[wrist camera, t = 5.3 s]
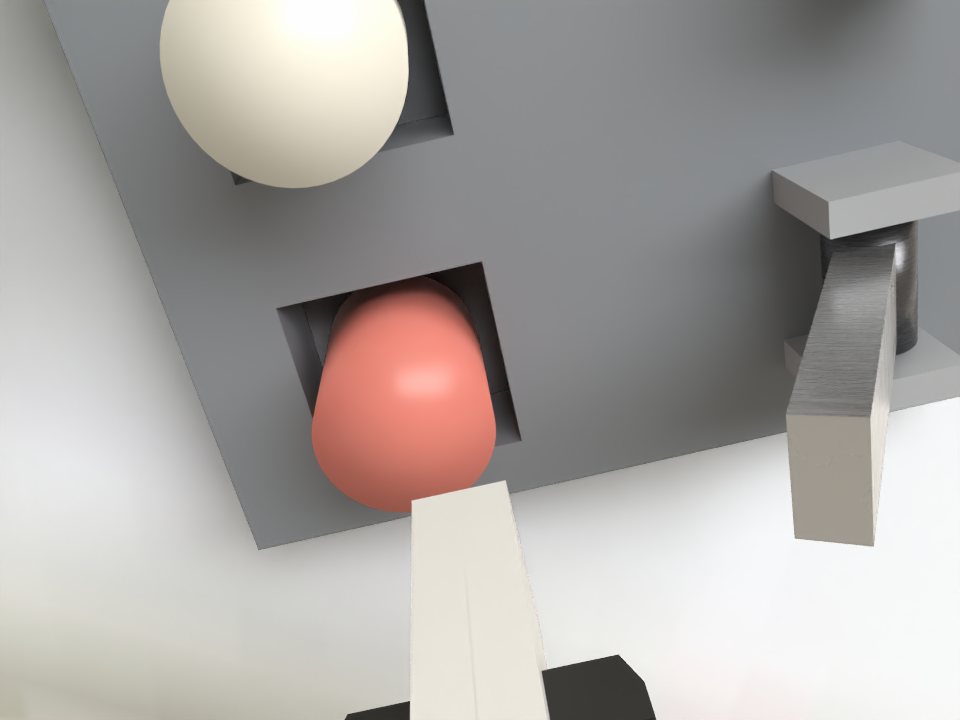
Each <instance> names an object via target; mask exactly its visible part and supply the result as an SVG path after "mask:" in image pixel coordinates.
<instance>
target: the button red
mask: <svg viewBox="0 0 960 720" xmlns="http://www.w3.org/2000/svg"><path fill="white" fill-rule="evenodd" d="M495 439H496V423H495V417H494V412H493V407H492V401H491V396H490V391H489V386H488V381H487V376H486V371H485V366H484V361H483V356H482V351H481V346H480V341H479V336H478V331H477V327H476V324H475V320H474V318H473V316H472V314H471V312H470V310H469V308H468V307H467V305H466V304H465V303H464V301H463V300H462V299H461V298H460V297H459V296H458V295H457V294H456V293H455V292H454V291H452V290H451V289H450V288H448V287H447V286H445V285H444V284H442V283H440V282H438V281H436V280H433V279H430V278H427V277H424V276H416V277H411V278H407V279H403V280H398V281H394V282H389V283H385V284H381V285H376V286H372V287H368V288H363V289H359V290H355V291H354V292H353V293H352V294H351V295H350V296H349V297H348V298H347V299H346V300H345V301H344V302H343V304H342V305H341V306H340V308H339V310H338V311H337V313H336V315H335V317H334V320H333V323H332V326H331V331H330V336H329V341H328V346H327V351H326V356H325V361H324V366H323V371H322V376H321V381H320V386H319V391H318V396H317V401H316V406H315V411H314V416H313V421H312V444H313V449H314V452H315V456H316V458H317V461H318V463H319V465H320V467H321V469H322V470H323V472H324V474H325V475H326V476H327V478H328V479H329V480H330V481H331V482H332V484H334V485H335V486H336V487H337V488H338V489H339V490H340V491H341V492H343V493H344V494H345V495H347V496H348V497H350V498H351V499H353V500H355V501H357V502H359V503H361V504H363V505H366V506H368V507H371V508H375V509H378V510H383V511H389V512H412V501H413V500H417V499H422V498H426V497H431V496H436V495H440V494H445V493H449V492H454V491H459V490H463V489H468V488H470V487H471V486H472V485H473V484H474V483H475V482H476V481H477V480H478V478H479V477H480V476H481V475H482V473H483V472H484V470H485V468H486V467H487V465H488V463H489V461H490V458H491V456H492V453H493V449H494V446H495Z"/></svg>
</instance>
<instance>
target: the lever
mask: <svg viewBox="0 0 960 720" xmlns="http://www.w3.org/2000/svg"><path fill="white" fill-rule="evenodd" d="M820 252H821V273H822V292H821V295H820V299H819V302H818V305H817V309H816V312H815V316H814V319H813V323H812V326H811V330H810V333H809V336H808V340H807V343H806V347H805V350H804V354H803V357H802V360H801V364H800V367H799V371H798V374H797V378H796V381H795V385H794V388H793V391H792V395H791V398H790V402H789V405H788V409H787V412H786V423H787V437H788V451H789V465H790V479H791V493H792V506H793V520H794V534H795V538H796V539H806V540H815V541H825V542H835V543H844V544H854V545H864V546H873V547H874V540H875V531H876V522H877V513H878V505H879V496H880V487H881V478H882V469H883V461H884V452H885V443H886V434H887V425H888V417H889V408H890V399H891V390H892V381H893V373H894V364H895V356H896V355H899V354H902V353H905V352H907V351H909V350H910V349H912V348H913V347H914V346H915V345H916V343H917V341H918V220H914V221H910V222H905V223H901V224H897V225H892V226H888V227H883V228H879V229H875V230H870V231H866V232H861V233H857V234H853V235H848V236H844V237H839V238H835V239H828V238H827V237H825V236H824V235H822V234H821V233H820Z"/></svg>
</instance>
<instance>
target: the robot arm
mask: <svg viewBox="0 0 960 720" xmlns="http://www.w3.org/2000/svg"><path fill="white" fill-rule="evenodd" d="M345 720H656V717H655V714H654V711H653V708H652V705H651V701H650V698H649V695H648V692H647V689H646V686H645V683H644V681H643V680H642V679H641V678H640V677H639V676H638V675H637V674H636V673H635V672H634V670H633V669H632V668H631V667H630V666H629V665H628V664H627V663H626V662H625V661H624V660H623V659H622V658H621V657H620V656H619V655H614V656H609V657H605V658H600V659H595V660H590V661H586V662H581V663H576V664H572V665H567V666H562V667H557V668H553V669H548V670H547V664H546V659H545V653H544V648H543V643H542V637H541V632H540V627H539V621H538V616H537V611H536V607H535V603H534V599H533V594H532V590H531V586H530V582H529V577H528V573H527V569H526V565H525V560H524V556H523V552H522V548H521V543H520V539H519V535H518V531H517V526H516V522H515V518H514V514H513V509H512V505H511V501H510V497H509V492H508V488H507V484H506V480H505V481H500V482H495V483H491V484H486V485H482V486H477V487H472V488H468V489H463V490H459V491H454V492H449V493H445V494H440V495H436V496H431V497H426V498H422V499H417V500H413V501H412V531H411V653H410V701H408V702H404V703H399V704H394V705H389V706H385V707H380V708H375V709H370V710H366V711H361V712H356V713H352V714H348V715H347V716H346V718H345Z"/></svg>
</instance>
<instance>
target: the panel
mask: <svg viewBox="0 0 960 720" xmlns="http://www.w3.org/2000/svg"><path fill="white" fill-rule="evenodd" d="M43 1H44V3H45V6H46V8H47V11H48V13H49V16H50V18H51V21H52V24H53V26H54V29H55V31H56V34H57V36H58V39H59V41H60V44H61V46H62V49H63V52H64V54H65V57H66V59H67V62H68V64H69V67H70V69H71V72H72V75H73V77H74V80H75V82H76V85H77V87H78V90H79V92H80V95H81V98H82V100H83V103H84V105H85V108H86V110H87V113H88V115H89V118H90V120H91V123H92V126H93V128H94V131H95V133H96V136H97V138H98V141H99V143H100V146H101V149H102V151H103V154H104V156H105V159H106V161H107V164H108V166H109V169H110V171H111V174H112V177H113V179H114V182H115V184H116V187H117V189H118V192H119V194H120V197H121V200H122V202H123V205H124V207H125V210H126V212H127V215H128V217H129V220H130V223H131V225H132V228H133V230H134V233H135V235H136V238H137V240H138V243H139V245H140V248H141V251H142V253H143V256H144V258H145V261H146V263H147V266H148V268H149V271H150V274H151V276H152V279H153V281H154V284H155V286H156V289H157V291H158V294H159V297H160V299H161V302H162V304H163V307H164V309H165V312H166V314H167V317H168V319H169V322H170V325H171V327H172V330H173V332H174V335H175V337H176V340H177V342H178V345H179V348H180V350H181V353H182V355H183V358H184V360H185V363H186V365H187V368H188V370H189V373H190V376H191V378H192V381H193V383H194V386H195V388H196V391H197V393H198V396H199V399H200V401H201V404H202V406H203V409H204V411H205V414H206V416H207V419H208V422H209V424H210V427H211V429H212V432H213V434H214V437H215V439H216V442H217V444H218V447H219V450H220V452H221V455H222V457H223V460H224V462H225V465H226V467H227V470H228V473H229V475H230V478H231V480H232V483H233V485H234V488H235V490H236V493H237V496H238V498H239V501H240V503H241V506H242V508H243V511H244V513H245V516H246V518H247V521H248V524H249V526H250V529H251V531H252V534H253V536H254V539H255V541H256V544H257V547H258V549H259V550H261V549H265V548H270V547H274V546H279V545H283V544H288V543H292V542H297V541H301V540H306V539H310V538H314V537H319V536H323V535H328V534H332V533H337V532H341V531H346V530H350V529H355V528H359V527H364V526H368V525H373V524H377V523H382V522H386V521H390V520H395V519H399V518H404V517H408V516H412V512H389V511H383V510H378V509H375V508H371V507H368V506H366V505H363V504H361V503H359V502H357V501H355V500H353V499H351V498H350V497H348V496H347V495H345V494H344V493H343V492H341V491H340V490H339V489H338V488H337V487H336V486H335V485H334V484H332V482H331V481H330V480H329V479H328V478H327V476H326V475H325V474H324V472H323V470H322V469H321V467H320V465H319V463H318V461H317V458H316V456H315V452H314V449H313V444H312V421H313V416H314V411H315V406H316V401H317V396H318V391H319V386H320V381H321V376H322V371H323V368H322V365H321V362H320V358H319V355H318V352H317V349H316V346H315V343H314V340H313V337H312V333H311V330H310V327H309V324H308V321H307V318H306V315H305V312H304V308H303V305H302V302H306V301H310V300H315V299H319V298H324V297H328V296H332V295H337V294H341V293H346V292H350V291H354V290H359V289H363V288H368V287H372V286H376V285H381V284H385V283H389V282H394V281H398V280H403V279H407V278H411V277H416V276H420V275H425V274H429V273H433V272H438V271H442V270H446V269H451V268H455V267H460V266H464V265H468V264H473V263H477V262H481V265H482V269H483V274H484V278H485V283H486V287H487V292H488V296H489V301H490V305H491V310H492V314H493V319H494V323H495V328H496V332H497V337H498V341H499V346H500V350H501V355H502V359H503V364H504V368H505V373H506V377H507V382H508V386H509V390H507V391H503V392H498V393H494V394H490V396H491V401H492V407H493V412H494V417H495V423H496V439H495V446H494V449H493V453H492V456H491V458H490V461H489V463H488V465H487V467H486V468H485V470H484V472H483V473H482V475H481V476H480V477H479V478H478V480H477V481H476V482H475V483H474V484H473V485H472V486H471V487H470V488H472V487H477V486H482V485H486V484H491V483H495V482H500V481H505V480H506V484H507V488H508V492H509V494H511V493H516V492H520V491H525V490H529V489H534V488H538V487H542V486H547V485H551V484H556V483H560V482H565V481H569V480H574V479H578V478H583V477H587V476H592V475H596V474H601V473H605V472H609V471H614V470H618V469H623V468H627V467H632V466H636V465H641V464H645V463H650V462H654V461H659V460H663V459H668V458H672V457H677V456H681V455H685V454H690V453H694V452H699V451H703V450H708V449H712V448H717V447H721V446H726V445H730V444H735V443H739V442H744V441H748V440H753V439H757V438H761V437H766V436H770V435H775V434H779V433H784V432H787V423H786V412H787V409H788V405H789V402H790V398H791V395H792V391H793V388H794V385H795V381H796V378H797V374H798V371H799V367H800V364H801V360H802V357H803V354H804V350H805V347H806V343H807V340H808V336H809V333H810V330H811V326H812V323H813V319H814V316H815V312H816V309H817V305H818V302H819V299H820V295H821V292H822V273H821V252H820V233H821V234H822V235H824V236H825V237H827V238H828V239H835V238H839V237H844V236H848V235H853V234H857V233H861V232H866V231H870V230H875V229H879V228H883V227H888V226H892V225H897V224H901V223H905V222H910V221H914V220H918V341H917V343H916V345H915V346H914V347H913V348H912V349H910V350H909V351H907V352H905V353H902V354H899V355H896V356H895V364H894V373H893V381H892V390H891V399H890V408H889V412H893V411H897V410H902V409H906V408H910V407H915V406H919V405H924V404H928V403H933V402H937V401H942V400H946V399H951V398H955V397H960V0H423V3H424V7H425V12H426V16H427V21H428V26H429V30H430V35H431V39H432V44H433V48H434V53H435V57H436V62H437V66H438V71H439V75H440V80H441V84H442V89H443V93H444V98H445V102H446V107H447V111H448V114H445V115H441V116H437V117H432V118H428V119H424V120H419V121H415V122H411V123H406V124H402V125H398V126H395V128H394V130H393V132H392V134H391V135H390V136H389V138H388V139H387V141H386V142H385V144H384V145H383V146H382V148H381V149H380V150H379V151H378V152H377V153H376V154H375V155H374V156H373V157H372V158H371V159H370V160H369V161H367V162H366V163H365V164H364V165H363V166H362V167H360V168H358V169H357V170H355V171H354V172H352V173H350V174H349V175H347V176H345V177H342V178H340V179H338V180H336V181H333V182H330V183H326V184H323V185H319V186H313V187H307V188H284V187H274V186H270V185H265V184H261V183H258V182H255V181H252V180H249V179H247V178H244V177H242V176H240V175H238V174H236V173H234V172H232V171H230V170H229V169H227V168H226V167H224V166H222V165H221V164H219V163H218V162H216V161H215V160H214V159H213V158H212V157H211V156H209V155H208V154H207V153H206V152H205V151H204V150H203V149H202V148H201V147H200V146H199V145H198V144H197V143H196V142H195V141H194V140H193V139H192V137H191V136H190V135H189V133H188V132H187V131H186V129H185V128H184V127H183V125H182V123H181V122H180V120H179V118H178V116H177V115H176V113H175V111H174V109H173V107H172V104H171V102H170V100H169V97H168V95H167V91H166V88H165V84H164V81H163V77H162V70H161V64H160V36H161V27H162V22H163V18H164V14H165V10H166V8H167V5H168V3H169V0H43Z"/></svg>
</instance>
